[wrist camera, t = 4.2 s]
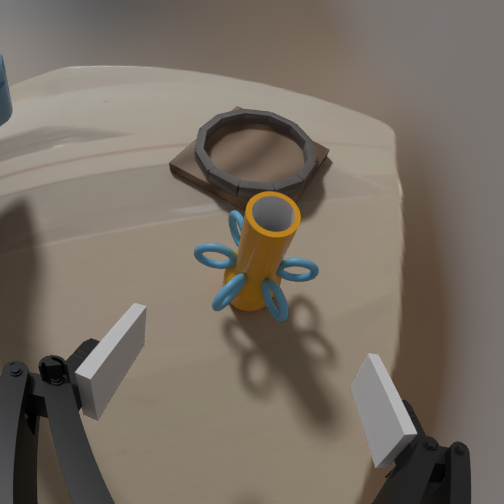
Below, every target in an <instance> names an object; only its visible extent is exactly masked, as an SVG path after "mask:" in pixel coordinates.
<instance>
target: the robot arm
mask: <svg viewBox="0 0 504 504" xmlns="http://www.w3.org/2000/svg"><path fill="white" fill-rule="evenodd" d="M11 115H12V102H11V97H10V92H9V87H8V82H7V77H6V71H5V66H4V61H3V57H2V55H1V54H0V126H2V125H3V124H4V123H6V122H7V121H8V120H9V118H10V117H11ZM146 308H147V306H144V305H140V304H137V303H134V304H133V305H132V306H131V307H130V308H129V309H128V311H127V312H126V313H125V314H124V315H123V316H122V317H121V318H120V320H119V321H118V322H117V323H116V324H115V325H114V326H113V328H112V329H111V330H110V331H109V332H108V333H107V335H106V336H105V337H104V338H103V339H102V340H101V342H100V341H97V340H95V339H92V338H91V339H89V340H87V341H84V342H83V343H82V344H81V345H80V346H79V347H78V349H76V350H75V352H74V353H73V354H72V355H71V356H70V357H69V358H68V359H67V360H66V361H65V360H64V359H63V358H62V357H59V356H55V355H50V356H46V357H44V358H42V359H41V360H40V362H39V366H38V367H39V371H40V374H41V375H40V374H36V373H31V372H29V371H28V368H27V366H26V365H25V364H24V363H22V362H19V361H12V362H9V363H8V364H6V365H5V367H4V368H3V371H2V374H1V378H0V504H38V501H37V446H38V431H39V420H40V416H42V417H47V418H49V423H50V428H51V432H52V436H53V441H54V445H55V448H56V452H57V456H58V459H59V463H60V466H61V469H62V472H63V475H64V478H65V481H66V484H67V487H68V490H69V493H70V495H71V498H72V501H73V503H74V504H115V503H114V501H113V499H112V497H111V495H110V493H109V491H108V489H107V487H106V484H105V482H104V480H103V478H102V475H101V473H100V471H99V468H98V466H97V463H96V461H95V458H94V456H93V453H92V450H91V448H90V445H89V442H88V439H87V437H86V434H85V431H84V428H83V424H82V421H81V418H80V415H79V410H80V409H81V407H82V410H83V414H84V415H86V416H88V417H90V418H92V419H95V420H97V421H98V420H99V418H100V416H101V415H102V413H103V411H104V410H105V408H106V406H107V404H108V403H109V401H110V399H111V398H112V396H113V395H114V393H115V391H116V390H117V388H118V386H119V385H120V383H121V381H122V380H123V378H124V376H125V375H126V373H127V372H128V370H129V368H130V367H131V365H132V364H133V362H134V360H135V359H136V357H137V356H138V354H139V352H140V351H141V349H142V348H143V346H144V341H145V323H146ZM351 390H352V394H353V397H354V400H355V403H356V406H357V409H358V412H359V415H360V418H361V422H362V425H363V428H364V431H365V435H366V438H367V441H368V444H369V448H370V451H371V455H372V458H373V461H374V465H375V468H384V467H388V466H389V465H390V464H391V463H392V462H393V461H395V464H396V466H395V467H394V468H393V469H392V470H391V471H390V473H388V474H387V476H386V478H387V477H388V476H389V477H388V478H387V480H386V482H385V484H384V485H383V487H382V489H381V490H380V492H379V493H378V495H377V497H376V498H375V500H374V501H373V503H372V504H471V470H470V455H469V449H468V448H467V446H466V445H465V444H463V443H461V442H454V443H453V444H452V445H451V446H450V447H449V448H447V447H442V446H439V444H438V443H437V441H436V440H435V439H434V438H432V437H429V436H426V435H425V433H424V431H423V429H422V427H421V424H420V423H419V420H418V419H417V416H416V414H414V411H413V408H412V407H411V405H410V404H409V403H408V402H407V401H406V400H401V398H400V396H399V394H398V392H397V390H396V388H395V386H394V384H393V382H392V380H391V378H390V376H389V374H388V372H387V370H386V368H385V366H384V365H383V363H382V361H381V359H380V357H379V355H377V354H369V353H368V354H367V356H366V358H365V360H364V362H363V364H362V366H361V368H360V370H359V372H358V373H357V375H356V377H355V379H354V381H353V383H352V385H351Z"/></svg>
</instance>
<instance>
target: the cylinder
mask: <svg viewBox="0 0 504 504" xmlns="http://www.w3.org/2000/svg"><path fill="white" fill-rule="evenodd" d="M300 221H301V214H300V211H299V208H298V206H297V205H296V204H295V202H294V201H293V200H292V199H290V198H289V197H287V196H286V195H284V194H281V193H278V192H272V191H267V192H261V193H259V194H256V195H255V196H253V197H252V198H251V199H250V200H249V202H248V204H247V206H246V211H245V216H244V218H243V216H242V215H241V214H240V213H239V212H238V211H236V210H233V211H231V212H230V214H229V227H230V231H231V234H232V237H233V239H234V241H235V243H236V245H237V246H238V252H237V253H235V252H234V251H233V250H232V249H230V248H228V247H226V246H224V245H221V244H216V243H205V244H201V245H199V246H197V247H196V248H195V250H194V256H195V258H196V259H197V260H198V261H199V262H200V263H202V264H204V265H206V266H208V267H212V268H218V269H225V272H224V281H223V288H222V289H221V290H220V292H219V293H218V294H217V296H216V297H215V299H214V301H213V303H212V308H213V310H215V311H220V310H222V309H223V308H225V307H226V306H227V305H228V304H229V303H231V304H232V305H233V306H234V307H236V308H237V309H240V310H243V311H249V312H252V311H258V310H260V309H262V308H264V307H266V306H267V308H268V310H269V312H270V313H271V315H272V316H273V317H274V318H275V319H276V320H277V321H279V322H284V321H286V320H287V318H288V314H289V311H288V305H287V301H286V299H285V296H284V294H283V292H282V290H281V288H280V287H279V286H280V284H281V278H283V279H286V280H289V281H295V282H303V281H309V280H312V279H314V278H315V277H316V276H317V275H318V273H319V269H318V266H317V265H316V264H315V263H313V262H312V261H309V260H306V259H302V258H289V259H285V260H282V259H283V257H284V255H285V253H286V251H287V249H288V247H289V245H290V243H291V241H292V239H293V237H294V235H295V233H296V231H297V228H298V226H299V224H300ZM236 222H237V223H238V226H239V228H240V231H241V237H240V235H239V232H238V229H237V225H236ZM203 252H218V253H221V254H224V255H226V256H227V257H228V258H229V260H227V261H216V260H212V259H209V258H207V257H205V256H204V255H203V254H202V253H203ZM292 266H299V267H304V268H307V269H309V270H310V272H309V273H306V274H292V273H288V272H286V271H284V270H283V269H284V268H287V267H292ZM274 296H275V298H276V300H277V303H278V306H279V310H280V312H279V311H278V309H277V308H276V306H275V304H274V302H273V300H272V299H273V297H274Z"/></svg>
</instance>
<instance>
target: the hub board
mask: <svg viewBox="0 0 504 504" xmlns="http://www.w3.org/2000/svg"><path fill="white" fill-rule="evenodd" d="M328 152H329V149H327V148H325V147H324V146H322V145H320V144H318V143H316V142H314V141H312V140H311V139H310V138H309V136H308V135H307V134H306V133H305V132H304V131H303V130H302V129H301V128H300V127H299V126H298V125H297V124H295V123H294V122H292V121H290V120H288V119H286V118H283V117H281V116H279V115H277V114H275V113H272V112H271V113H270V112H268V111H259V110H250V109H243V108H240V107H238V106H237V107H235V108H234V109H233V110H232V111H230V112H226V113H222V114H218V115H216V116H215V117H213V118H212V119H211V120H210V121H208V122H207V123H206V124H204V125H203V126H202V127H201V128H200V129H199V131H198V136H197V139H196V140H194V141H193V142H192V143H191V144H190V145H189V146H187V147H186V148H185V149H184V150H183V151H182V152H181V153H179V154H178V155H177V156H176V157H175V158H174V159H173V160H172V161H170V162H169V166H170V170H171V171H173V172H175V173H177V174H179V175H181V176H183V177H184V178H186V179H188V180H190V181H192V182H194V183H196V184H197V185H199V186H201V187H203V188H205V189H207V190H208V191H210V192H212V193H214V194H216V195H218V196H219V197H221V198H223V199H225V200H227V201H228V202H230V203H232V204H234V205H236V206H237V207H239V208H241V209H243V210H244V211H246V206H247V204H248V202H249V200H250V199H251V198H252V197H253V196H255V195H256V194H259V193H261V192H267V191H272V192H278V193H281V194H284V195H286V196H287V197H289V198H290V199H292V200H293V201H294V202H295V203H296V202H297V200H298V199H299V197H300V196H301V194H302V193H303V191H304V190H305V188H306V187H307V185H308V184H309V182H310V181H311V179H312V178H313V176H314V175H315V173H316V172H317V170H318V169H319V167H320V166H321V164H322V163H323V161H324V159H325V158H326V156H327V154H328Z"/></svg>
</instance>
